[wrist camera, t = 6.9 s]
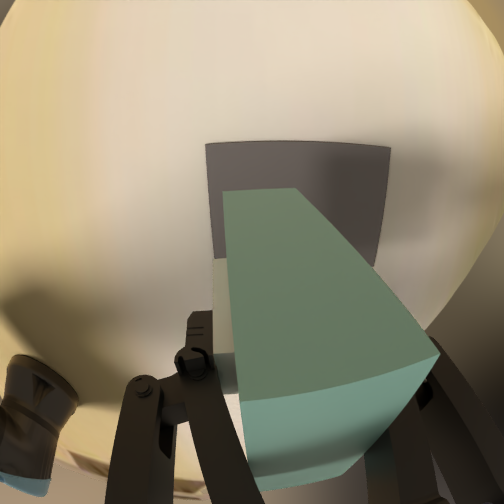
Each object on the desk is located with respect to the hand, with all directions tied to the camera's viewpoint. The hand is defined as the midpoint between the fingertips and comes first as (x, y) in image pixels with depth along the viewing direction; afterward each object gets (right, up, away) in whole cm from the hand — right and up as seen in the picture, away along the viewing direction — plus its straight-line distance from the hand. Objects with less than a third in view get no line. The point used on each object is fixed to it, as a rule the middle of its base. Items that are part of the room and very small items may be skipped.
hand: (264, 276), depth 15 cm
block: (0, +1, +1) cm, 2 cm away
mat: (+4, +5, +9) cm, 11 cm away
